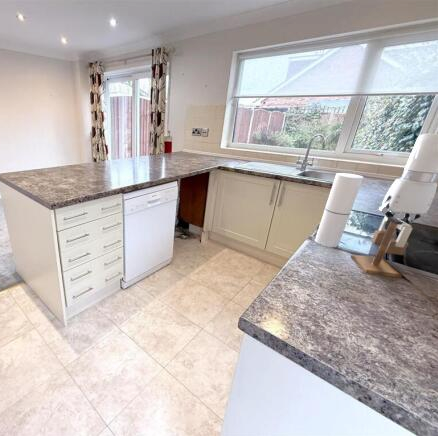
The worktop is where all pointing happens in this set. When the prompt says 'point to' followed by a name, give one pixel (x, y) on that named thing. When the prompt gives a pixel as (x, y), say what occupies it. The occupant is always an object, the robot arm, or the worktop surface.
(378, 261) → the stand
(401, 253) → the wooden bracket
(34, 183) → the worktop surface
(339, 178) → the cylindrical container
